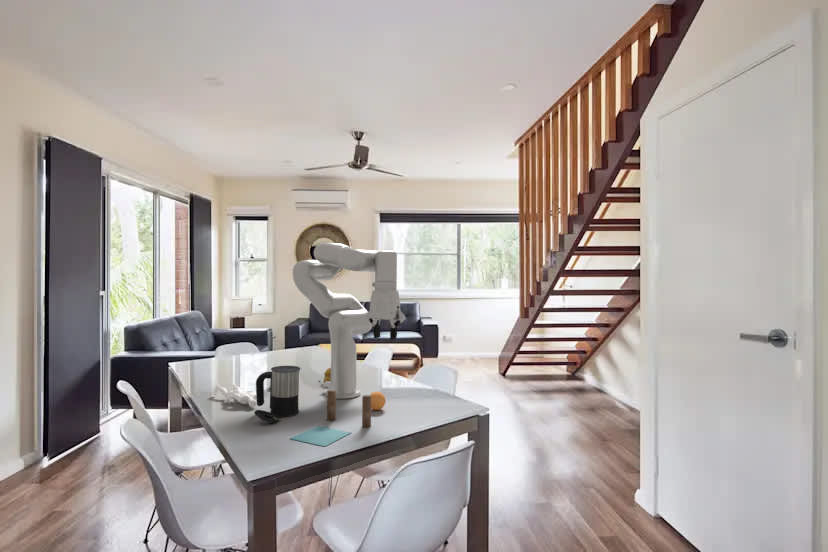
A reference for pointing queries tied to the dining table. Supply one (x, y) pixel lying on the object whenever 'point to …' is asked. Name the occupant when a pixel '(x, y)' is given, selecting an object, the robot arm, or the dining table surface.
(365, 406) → the post
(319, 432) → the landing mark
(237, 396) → the white crumpled cloth
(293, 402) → the milk frother
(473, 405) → the dining table surface
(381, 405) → the ball
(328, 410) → the post
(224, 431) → the dining table surface
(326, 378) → the bread roll
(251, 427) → the dining table surface
